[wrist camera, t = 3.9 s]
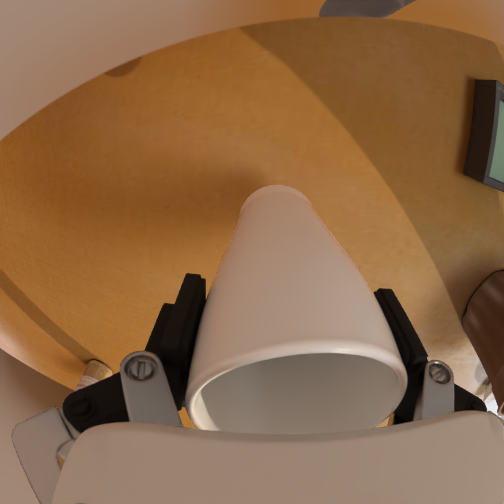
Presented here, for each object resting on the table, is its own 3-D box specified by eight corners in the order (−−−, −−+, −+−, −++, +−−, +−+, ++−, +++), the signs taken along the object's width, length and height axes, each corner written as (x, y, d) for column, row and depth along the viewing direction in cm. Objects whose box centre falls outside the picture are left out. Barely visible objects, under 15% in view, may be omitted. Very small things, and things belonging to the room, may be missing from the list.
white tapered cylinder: (230, 259, 22) (199, 452, 9) (227, 171, 19) (154, 338, 6) (318, 259, 22) (370, 446, 9) (327, 173, 18) (450, 330, 5)
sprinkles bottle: (102, 358, 36) (70, 429, 24) (118, 376, 38) (92, 446, 26) (83, 359, 37) (51, 425, 25) (99, 377, 39) (72, 442, 27)
